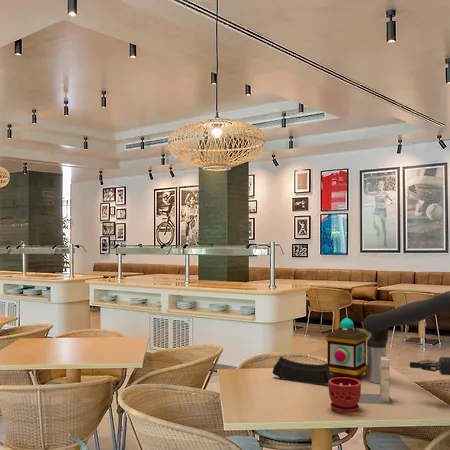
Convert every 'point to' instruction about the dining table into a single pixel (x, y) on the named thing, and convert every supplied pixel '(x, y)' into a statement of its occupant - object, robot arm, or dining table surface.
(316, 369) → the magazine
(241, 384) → the dining table surface
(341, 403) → the plant pot
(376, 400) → the mat
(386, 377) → the slab
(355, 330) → the decorative lantern
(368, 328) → the robot arm
